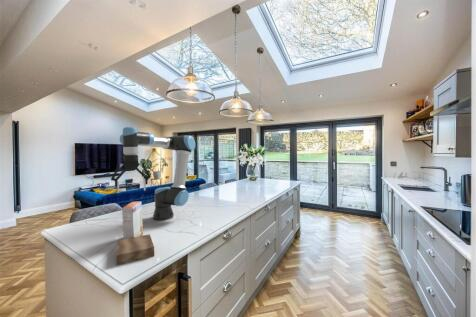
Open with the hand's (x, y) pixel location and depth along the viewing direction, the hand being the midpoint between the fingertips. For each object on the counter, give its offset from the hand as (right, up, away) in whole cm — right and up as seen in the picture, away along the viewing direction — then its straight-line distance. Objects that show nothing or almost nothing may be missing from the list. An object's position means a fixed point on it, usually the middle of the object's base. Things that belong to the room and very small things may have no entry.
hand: (132, 191), depth 120 cm
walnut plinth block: (+9, -29, -15) cm, 34 cm away
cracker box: (0, -29, +1) cm, 29 cm away
